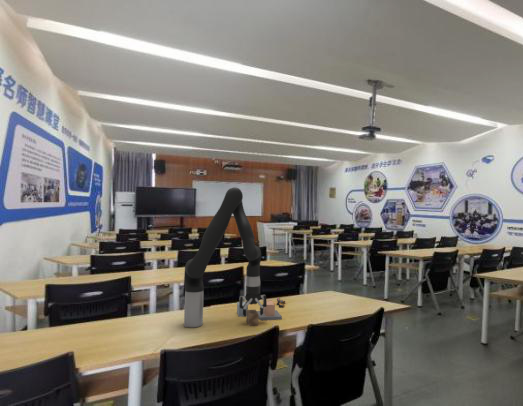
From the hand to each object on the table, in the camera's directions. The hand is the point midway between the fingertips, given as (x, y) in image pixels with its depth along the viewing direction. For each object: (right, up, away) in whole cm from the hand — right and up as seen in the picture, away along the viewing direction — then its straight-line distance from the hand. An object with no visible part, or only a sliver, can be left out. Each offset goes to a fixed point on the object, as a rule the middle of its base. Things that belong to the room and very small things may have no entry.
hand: (252, 315), depth 173 cm
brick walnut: (0, -4, -1) cm, 4 cm away
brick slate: (-6, -4, +14) cm, 16 cm away
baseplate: (+8, -4, +11) cm, 15 cm away
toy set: (+15, -6, +34) cm, 37 cm away
